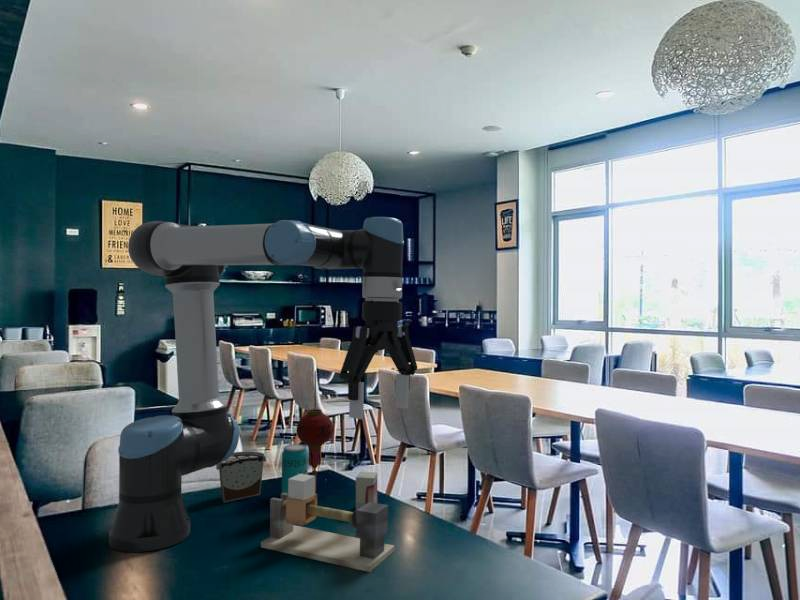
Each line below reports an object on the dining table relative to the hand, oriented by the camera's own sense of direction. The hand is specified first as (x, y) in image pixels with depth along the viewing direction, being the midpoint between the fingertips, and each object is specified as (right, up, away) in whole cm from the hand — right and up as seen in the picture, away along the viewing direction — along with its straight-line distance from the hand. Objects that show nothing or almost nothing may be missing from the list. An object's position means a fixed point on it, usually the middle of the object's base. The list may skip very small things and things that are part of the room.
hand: (380, 412), depth 112 cm
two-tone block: (-16, -22, +5) cm, 28 cm away
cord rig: (-10, -27, +2) cm, 29 cm away
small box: (-4, -27, +25) cm, 37 cm away
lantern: (-18, -27, +39) cm, 51 cm away
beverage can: (-20, -27, +22) cm, 40 cm away
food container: (-36, -27, +34) cm, 56 cm away
